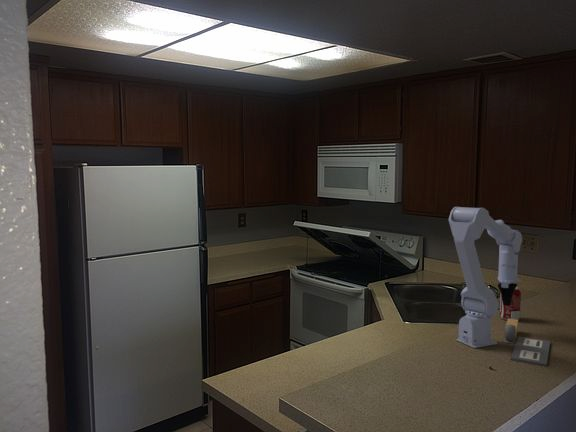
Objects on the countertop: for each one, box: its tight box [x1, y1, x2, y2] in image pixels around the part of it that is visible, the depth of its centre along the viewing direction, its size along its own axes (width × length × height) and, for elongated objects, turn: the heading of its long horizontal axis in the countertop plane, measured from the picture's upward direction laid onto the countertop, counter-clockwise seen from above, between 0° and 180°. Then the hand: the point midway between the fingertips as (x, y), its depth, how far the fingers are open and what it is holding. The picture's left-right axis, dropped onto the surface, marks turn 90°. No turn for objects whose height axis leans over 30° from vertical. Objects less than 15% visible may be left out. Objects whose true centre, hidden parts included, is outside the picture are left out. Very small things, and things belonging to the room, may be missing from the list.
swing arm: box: [504, 318, 519, 341], centre depth 157 cm, size 14×3×4 cm, turn 151°
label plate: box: [502, 336, 551, 367], centre depth 144 cm, size 22×13×1 cm, turn 149°
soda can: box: [499, 286, 522, 321], centre depth 176 cm, size 7×7×12 cm
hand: (506, 305), depth 160 cm, fingers closed
